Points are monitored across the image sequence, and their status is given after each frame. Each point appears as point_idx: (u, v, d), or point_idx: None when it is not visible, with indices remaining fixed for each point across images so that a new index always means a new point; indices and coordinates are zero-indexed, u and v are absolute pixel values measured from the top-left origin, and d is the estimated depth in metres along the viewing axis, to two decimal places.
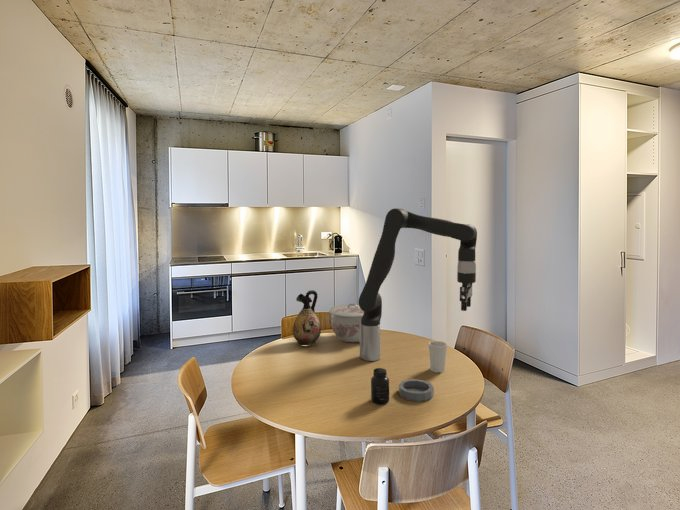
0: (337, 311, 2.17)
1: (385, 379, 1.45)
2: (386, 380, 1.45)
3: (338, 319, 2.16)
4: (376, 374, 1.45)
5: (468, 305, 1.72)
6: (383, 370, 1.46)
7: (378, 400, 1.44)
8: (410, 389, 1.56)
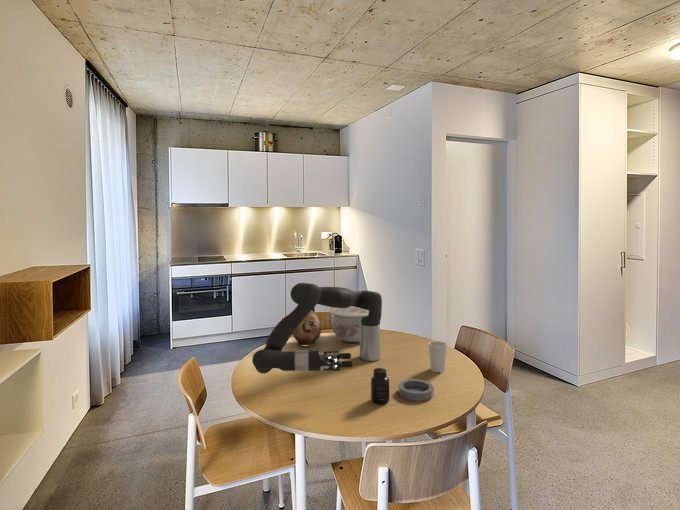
0: (337, 311, 2.17)
1: (385, 379, 1.45)
2: (386, 380, 1.45)
3: (338, 319, 2.16)
4: (376, 374, 1.45)
5: None
6: (383, 370, 1.46)
7: (378, 400, 1.44)
8: (410, 389, 1.56)
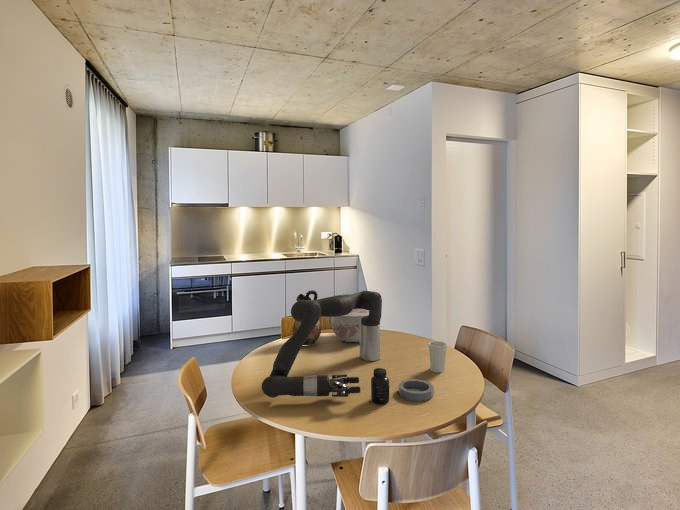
0: None
1: (385, 379, 1.45)
2: (386, 380, 1.45)
3: (338, 319, 2.16)
4: (376, 374, 1.45)
5: None
6: (383, 370, 1.46)
7: (378, 400, 1.44)
8: (410, 389, 1.56)
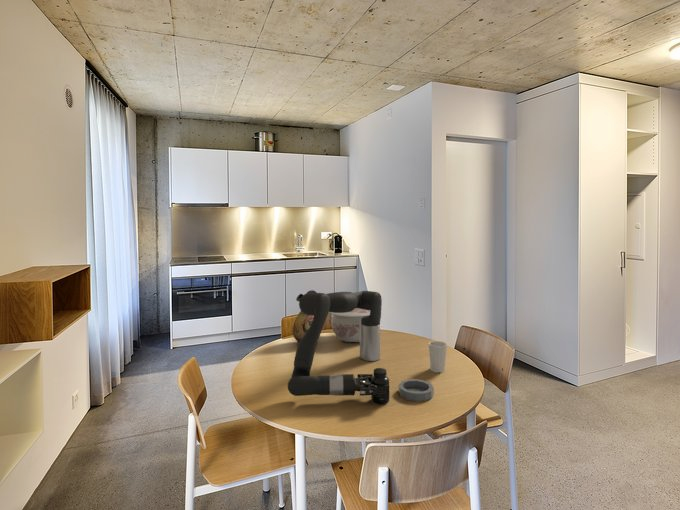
0: None
1: (385, 379, 1.45)
2: (386, 380, 1.45)
3: (338, 319, 2.16)
4: (376, 374, 1.45)
5: None
6: (383, 370, 1.46)
7: (378, 400, 1.44)
8: (410, 389, 1.56)
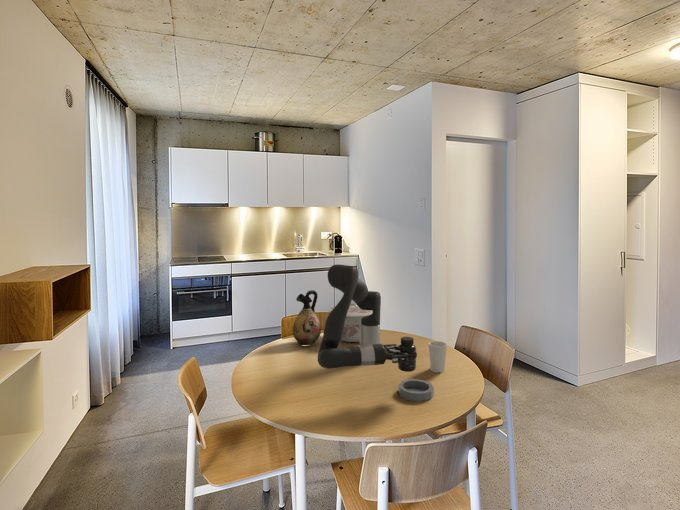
0: None
1: (413, 346, 1.48)
2: (414, 347, 1.48)
3: None
4: (405, 342, 1.47)
5: None
6: (410, 338, 1.50)
7: (407, 367, 1.47)
8: (410, 389, 1.56)
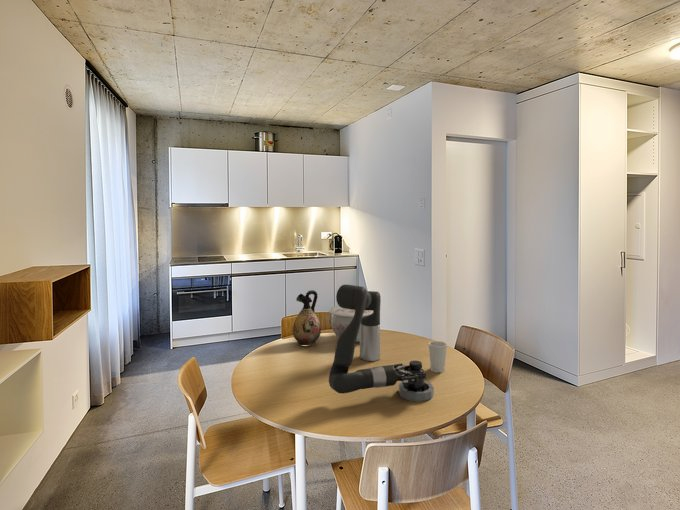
0: (337, 311, 2.17)
1: (422, 370, 1.51)
2: (423, 371, 1.51)
3: (338, 319, 2.16)
4: (414, 366, 1.50)
5: None
6: (418, 362, 1.52)
7: (417, 391, 1.50)
8: None
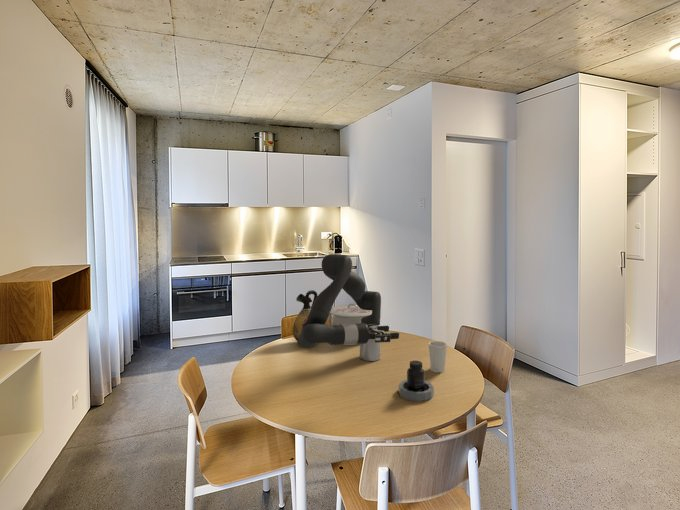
0: (337, 311, 2.17)
1: (422, 370, 1.51)
2: (423, 371, 1.51)
3: (338, 319, 2.16)
4: (414, 366, 1.50)
5: None
6: (419, 362, 1.52)
7: (417, 391, 1.50)
8: None
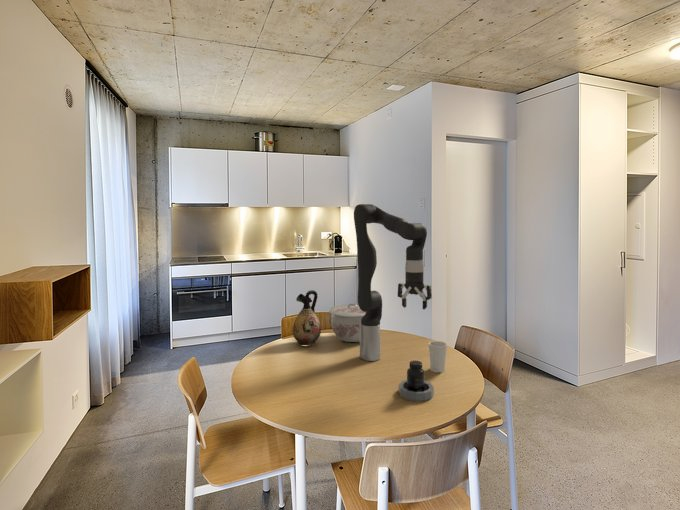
0: (337, 311, 2.17)
1: (422, 370, 1.51)
2: (423, 371, 1.51)
3: (338, 319, 2.16)
4: (414, 366, 1.50)
5: None
6: (419, 362, 1.52)
7: (417, 391, 1.50)
8: None
